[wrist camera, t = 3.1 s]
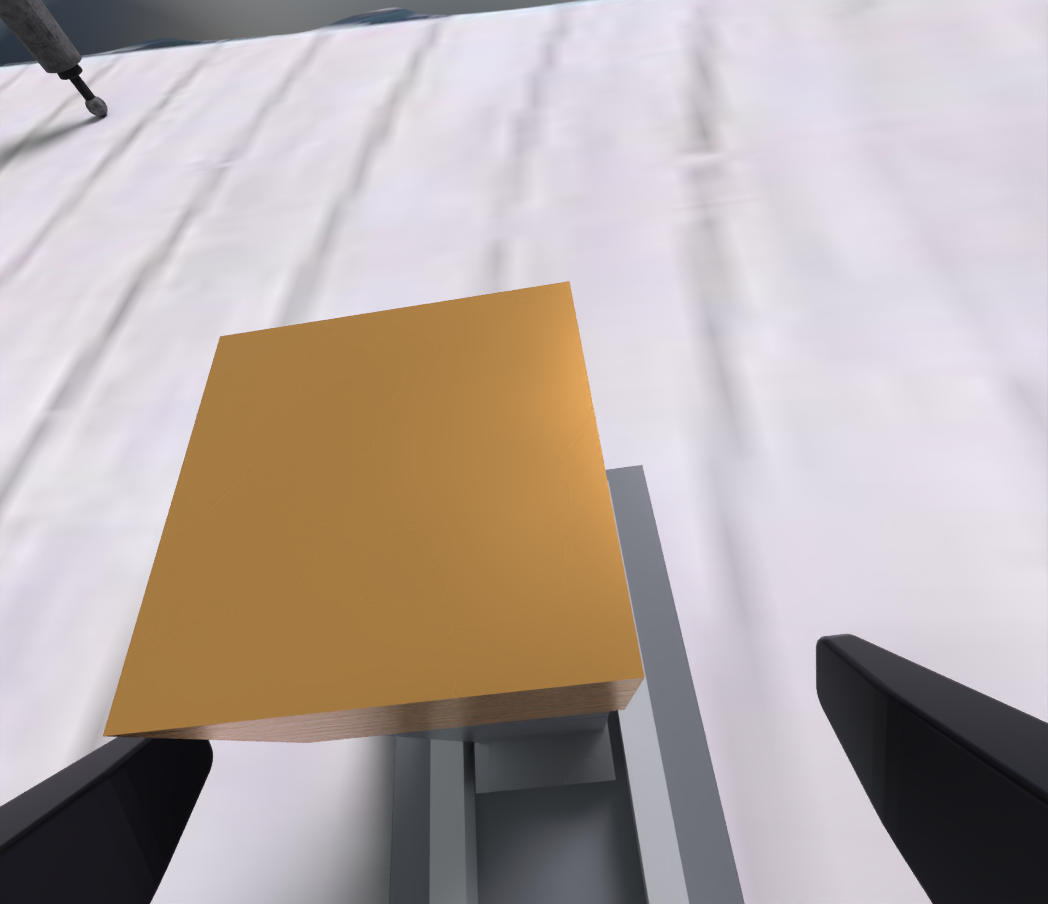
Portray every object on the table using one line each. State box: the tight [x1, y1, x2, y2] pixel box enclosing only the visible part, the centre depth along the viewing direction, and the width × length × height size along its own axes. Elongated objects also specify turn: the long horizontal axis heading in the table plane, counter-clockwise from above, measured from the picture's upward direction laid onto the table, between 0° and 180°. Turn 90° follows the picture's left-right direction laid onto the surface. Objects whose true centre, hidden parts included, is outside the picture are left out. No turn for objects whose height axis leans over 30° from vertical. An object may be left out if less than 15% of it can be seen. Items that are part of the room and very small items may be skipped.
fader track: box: [389, 465, 745, 904], centre depth 13 cm, size 18×8×3 cm, turn 5°
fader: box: [103, 282, 645, 793], centre depth 9 cm, size 5×3×12 cm, turn 5°
